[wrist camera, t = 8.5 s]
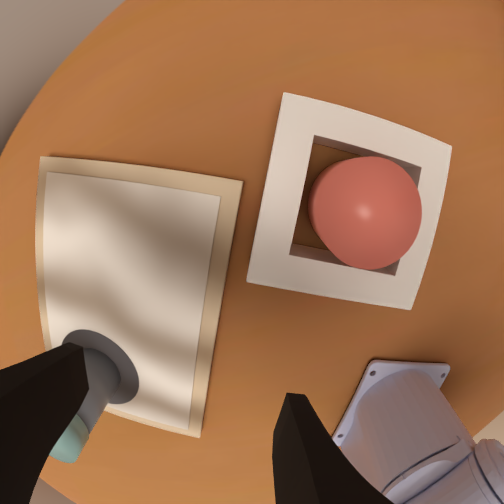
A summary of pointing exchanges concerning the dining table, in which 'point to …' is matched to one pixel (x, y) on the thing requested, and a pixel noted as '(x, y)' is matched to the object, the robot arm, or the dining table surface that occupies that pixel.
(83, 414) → the grey teal cylinder
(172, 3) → the dining table surface
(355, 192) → the button cap
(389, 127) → the button housing
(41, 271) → the board
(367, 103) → the dining table surface
